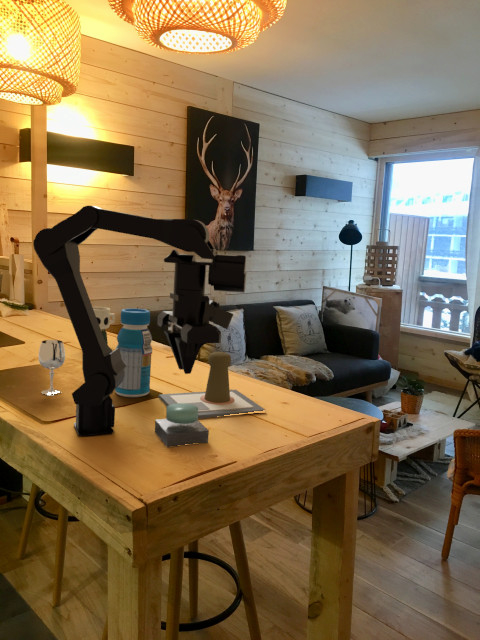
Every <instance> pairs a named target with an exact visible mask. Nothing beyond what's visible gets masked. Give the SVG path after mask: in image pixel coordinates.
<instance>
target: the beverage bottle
mask: <svg viewBox="0 0 480 640" xmlns="http://www.w3.org/2000/svg"><path fill="white" fill-rule="evenodd" d="M150 323H151V312H150V310H148V309H144V308H123V309H121V311H120V325H123V326H122V327H121V328H120V329H119V332H118V334H117V337H116V341H117V345H116V347H115V349H117V348H119V350H120V353H121V358H122V361H123V363H124V364H125V365H126V368H125V369H124V372H125V377H124V379H123V381H122V383H121V384H120V385H119V386H118V387H117V388H116V389H115V390H114V391H115V393H116V394H117V395H118V396H120V397H124V398H140V397H145V396H147V395H148V394H150V390H151V386H150V385H151V370H152V369H151V368H152V367H151V365H152V355H153V347H152V345H151V343H152V342H153V336H152V334H151V331H150V330H149V328H148V326H150Z"/></svg>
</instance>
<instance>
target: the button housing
mask: <svg viewBox="0 0 480 640" xmlns="http://www.w3.org/2000/svg"><path fill="white" fill-rule="evenodd" d="M154 433H155V434H156V436H157V437H158V438H159V440H161V442H162V443H163V444H164V445H165V447H166V446H167V447H166V448H171V447H170V446H176V447H179V446H178V445H185V444H193V443H204V444H208V443H209V436H210V435H209V433H210V430H209V429H208V428H207V427H206V426H205V424H203V423H202V422H201V421H199V419H198V420H197V421H196V422H193V423H189V424H178V423H172V422H170V421H168V420H167V419H166V418H160V419H159V418H158V419H157V418H156V419H155V420H154ZM185 446H186V445H185Z"/></svg>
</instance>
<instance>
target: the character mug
mask: <svg viewBox="0 0 480 640" xmlns="http://www.w3.org/2000/svg"><path fill="white" fill-rule="evenodd" d="M92 307H93V310H94V313H95V315H96V318H97V321H98V323H99V326H100V329H101V332H102V334H103V337H104V340H105V342H106V344H107V345H108V343H109V342H108V334H107V331H106V330H107V329H109V327H110V325H111V324H115V322H116V313H113V312H111V308H110V307H107V306H106V307H105V306H92ZM108 346H109V345H108Z"/></svg>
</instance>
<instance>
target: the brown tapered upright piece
mask: <svg viewBox="0 0 480 640" xmlns="http://www.w3.org/2000/svg"><path fill="white" fill-rule="evenodd" d="M231 363H232V358H231V355H230V354H229V353H227V352H224V351H214V352H211V353H210V354H209V356H208V365H209V373H208V378H207V383H206V388H205V392H206V393H205V398H204V399H205V400H207V401H209V402H214V403H224V402H228V401H230V390H231V389H230V378H229V367H230V365H231Z"/></svg>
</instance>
